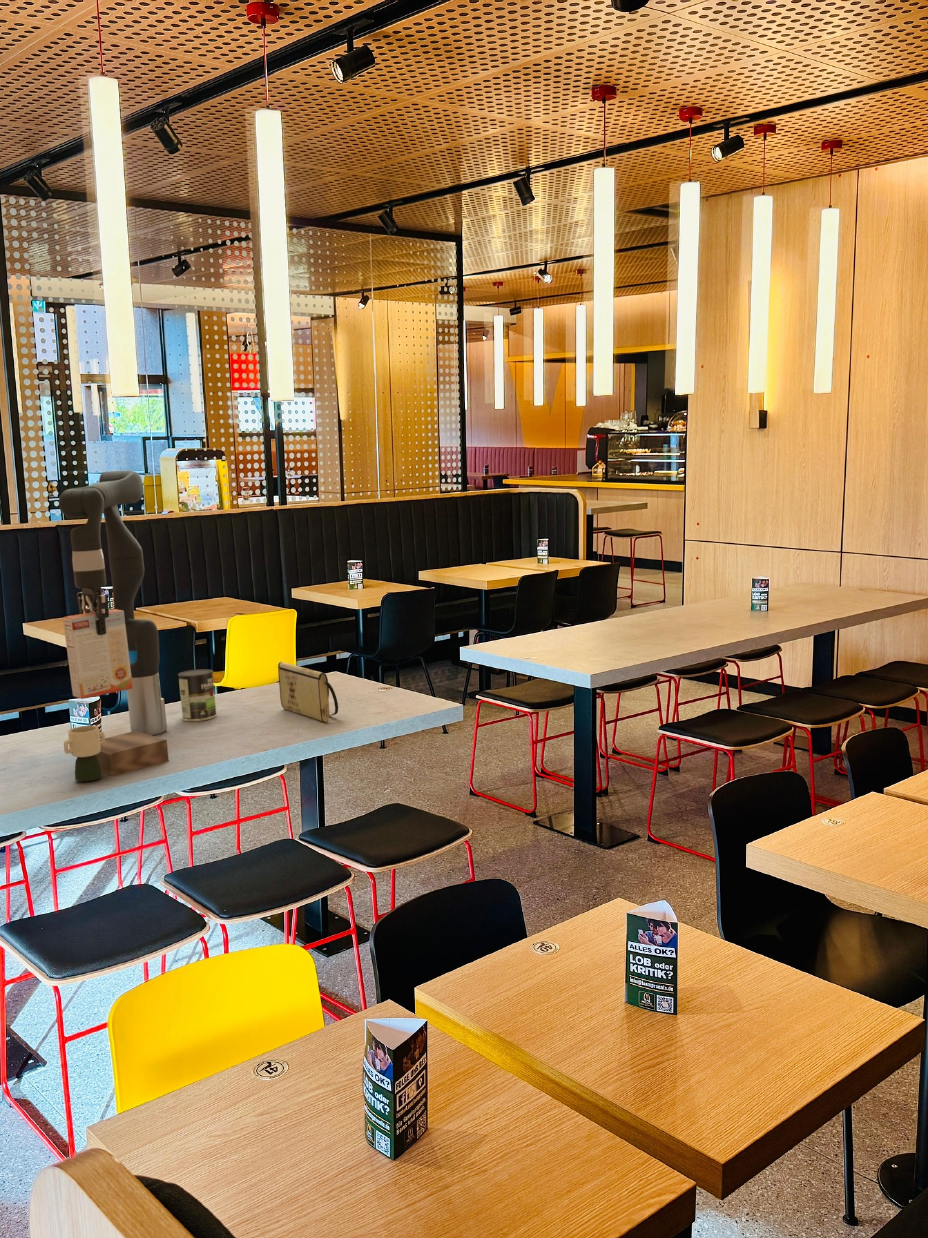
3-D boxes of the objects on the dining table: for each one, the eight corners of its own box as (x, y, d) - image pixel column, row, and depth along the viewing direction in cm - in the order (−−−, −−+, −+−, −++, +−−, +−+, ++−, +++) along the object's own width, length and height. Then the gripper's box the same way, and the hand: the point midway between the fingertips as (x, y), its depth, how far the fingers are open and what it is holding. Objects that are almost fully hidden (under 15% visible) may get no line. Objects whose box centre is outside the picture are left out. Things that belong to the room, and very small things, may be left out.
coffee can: (223, 713, 319) (219, 669, 317) (204, 722, 309) (200, 676, 307) (194, 712, 322) (190, 668, 320) (175, 721, 313) (171, 675, 311)
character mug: (100, 772, 262) (95, 722, 260) (116, 776, 258) (111, 725, 256) (60, 783, 254) (54, 732, 252) (76, 788, 249) (70, 736, 247)
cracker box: (123, 686, 274) (114, 608, 270) (133, 689, 269) (125, 609, 266) (71, 696, 264) (62, 615, 261) (81, 699, 260) (71, 617, 257)
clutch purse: (345, 720, 303) (341, 670, 301) (324, 725, 299) (320, 674, 296) (297, 704, 326) (293, 658, 324) (277, 708, 322) (273, 661, 320)
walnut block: (137, 752, 281) (135, 731, 280) (168, 761, 270) (166, 739, 269) (81, 767, 269) (79, 744, 268) (111, 777, 258) (109, 754, 257)
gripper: (115, 567, 259) (122, 633, 262) (91, 565, 270) (98, 629, 272) (86, 571, 254) (93, 638, 257) (63, 568, 265) (70, 633, 267)
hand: (96, 633), depth 264 cm, fingers closed on cracker box, 6 cm apart
